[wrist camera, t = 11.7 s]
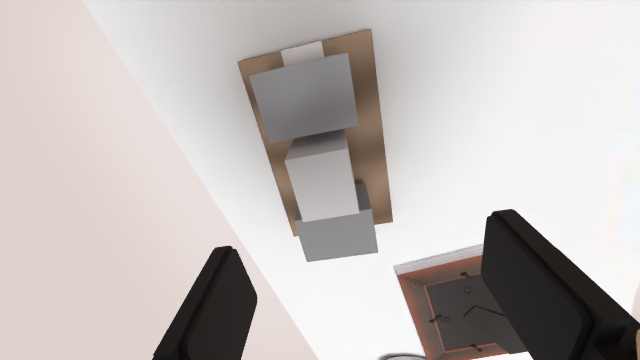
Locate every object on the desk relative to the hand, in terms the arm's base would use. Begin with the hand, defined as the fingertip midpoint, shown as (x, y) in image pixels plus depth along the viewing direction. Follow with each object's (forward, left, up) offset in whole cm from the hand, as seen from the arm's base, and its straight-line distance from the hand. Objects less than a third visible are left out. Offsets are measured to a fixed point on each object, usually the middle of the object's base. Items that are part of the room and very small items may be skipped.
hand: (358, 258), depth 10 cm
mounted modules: (+2, -2, -17) cm, 17 cm away
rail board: (+2, -2, -19) cm, 19 cm away
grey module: (+2, -2, -17) cm, 17 cm away
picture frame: (+30, +13, -20) cm, 38 cm away
